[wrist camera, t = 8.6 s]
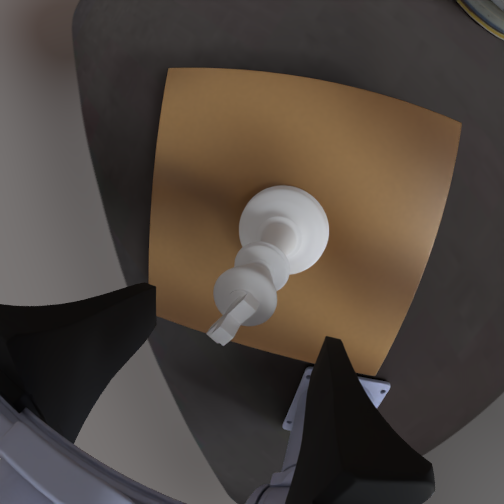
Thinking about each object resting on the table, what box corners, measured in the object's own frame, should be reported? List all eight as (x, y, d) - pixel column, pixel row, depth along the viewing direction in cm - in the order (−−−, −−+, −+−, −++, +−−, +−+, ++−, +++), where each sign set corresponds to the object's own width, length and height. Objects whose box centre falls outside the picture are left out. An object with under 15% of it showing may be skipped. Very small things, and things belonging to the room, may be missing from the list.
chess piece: (223, 229, 17) (114, 319, 8) (281, 166, 15) (204, 193, 6) (285, 287, 17) (235, 422, 8) (347, 230, 15) (365, 345, 6)
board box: (371, 343, 22) (375, 376, 18) (173, 290, 25) (148, 313, 21) (438, 126, 15) (462, 122, 12) (195, 79, 18) (168, 67, 15)
